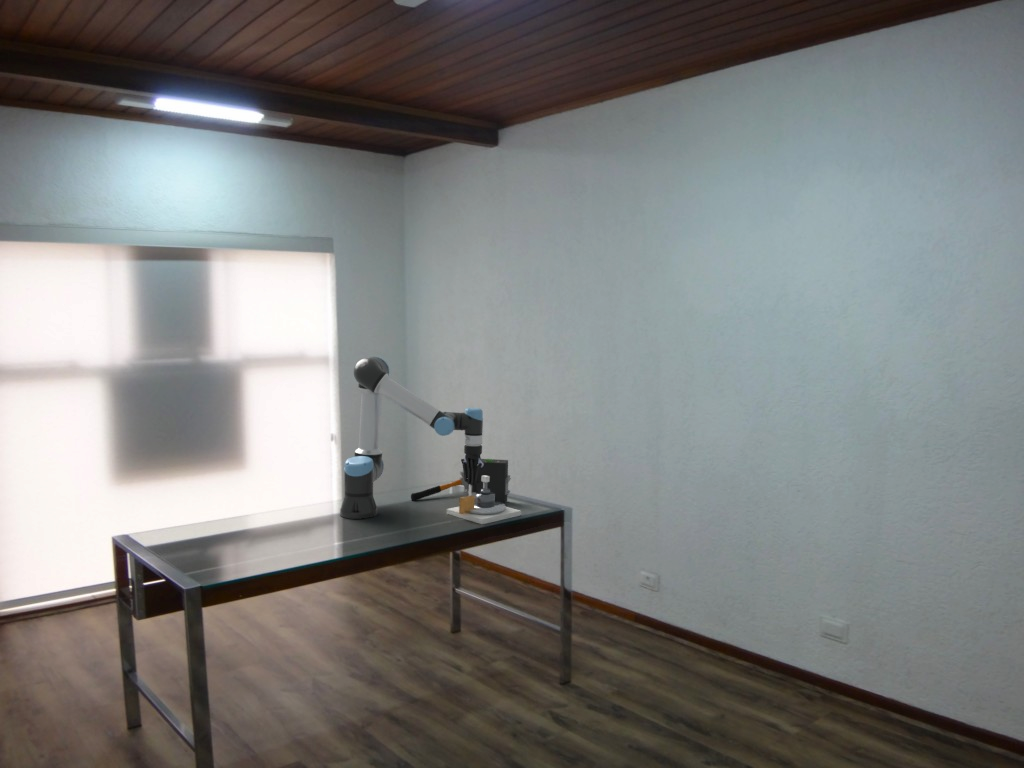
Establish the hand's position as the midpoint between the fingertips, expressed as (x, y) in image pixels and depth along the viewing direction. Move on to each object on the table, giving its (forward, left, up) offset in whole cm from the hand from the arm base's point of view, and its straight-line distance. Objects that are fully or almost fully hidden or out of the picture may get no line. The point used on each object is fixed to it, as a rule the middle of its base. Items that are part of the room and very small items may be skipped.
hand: (472, 499), depth 344 cm
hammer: (-29, +6, -6) cm, 30 cm away
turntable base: (+7, 0, -5) cm, 9 cm away
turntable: (+7, -2, -3) cm, 8 cm away
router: (-7, +16, -5) cm, 18 cm away
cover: (+8, 0, -1) cm, 8 cm away
